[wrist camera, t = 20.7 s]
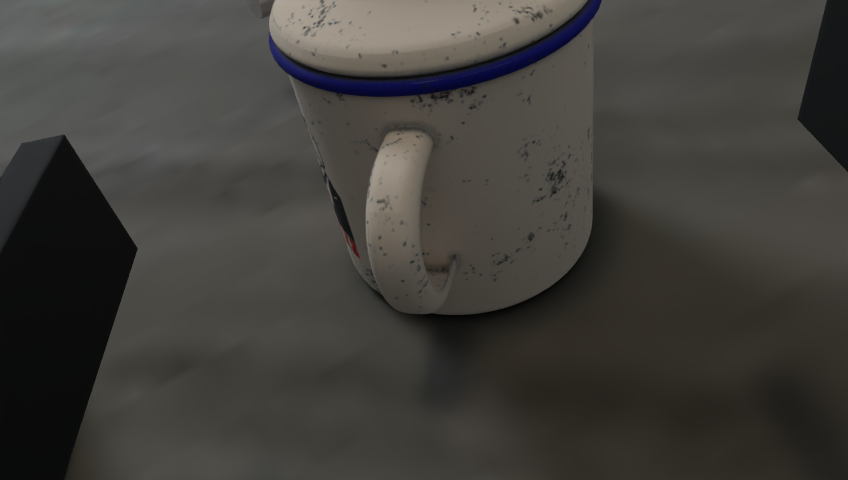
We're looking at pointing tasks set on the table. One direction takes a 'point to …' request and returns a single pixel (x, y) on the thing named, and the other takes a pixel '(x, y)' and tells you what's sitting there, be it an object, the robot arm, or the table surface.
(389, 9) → the teacup with lid
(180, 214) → the table surface
